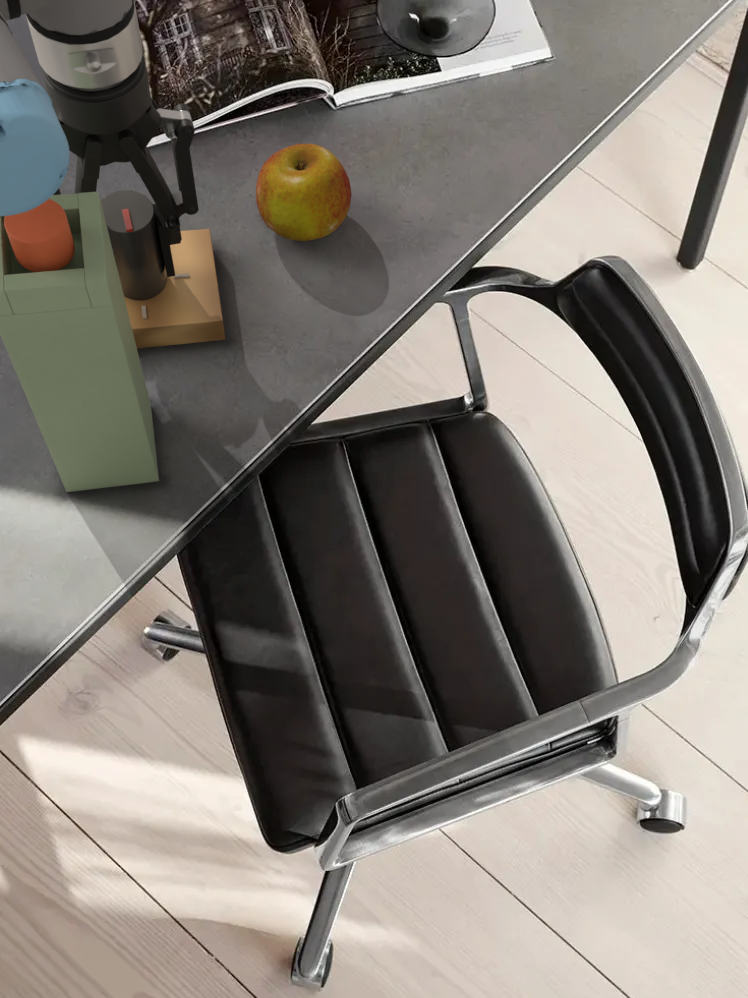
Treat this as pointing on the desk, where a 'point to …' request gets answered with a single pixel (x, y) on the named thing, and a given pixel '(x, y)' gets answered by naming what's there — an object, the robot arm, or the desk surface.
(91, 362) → the button stand
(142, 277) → the dial knob
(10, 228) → the button
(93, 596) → the desk surface
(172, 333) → the dial panel
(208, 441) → the desk surface
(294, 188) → the fruit
